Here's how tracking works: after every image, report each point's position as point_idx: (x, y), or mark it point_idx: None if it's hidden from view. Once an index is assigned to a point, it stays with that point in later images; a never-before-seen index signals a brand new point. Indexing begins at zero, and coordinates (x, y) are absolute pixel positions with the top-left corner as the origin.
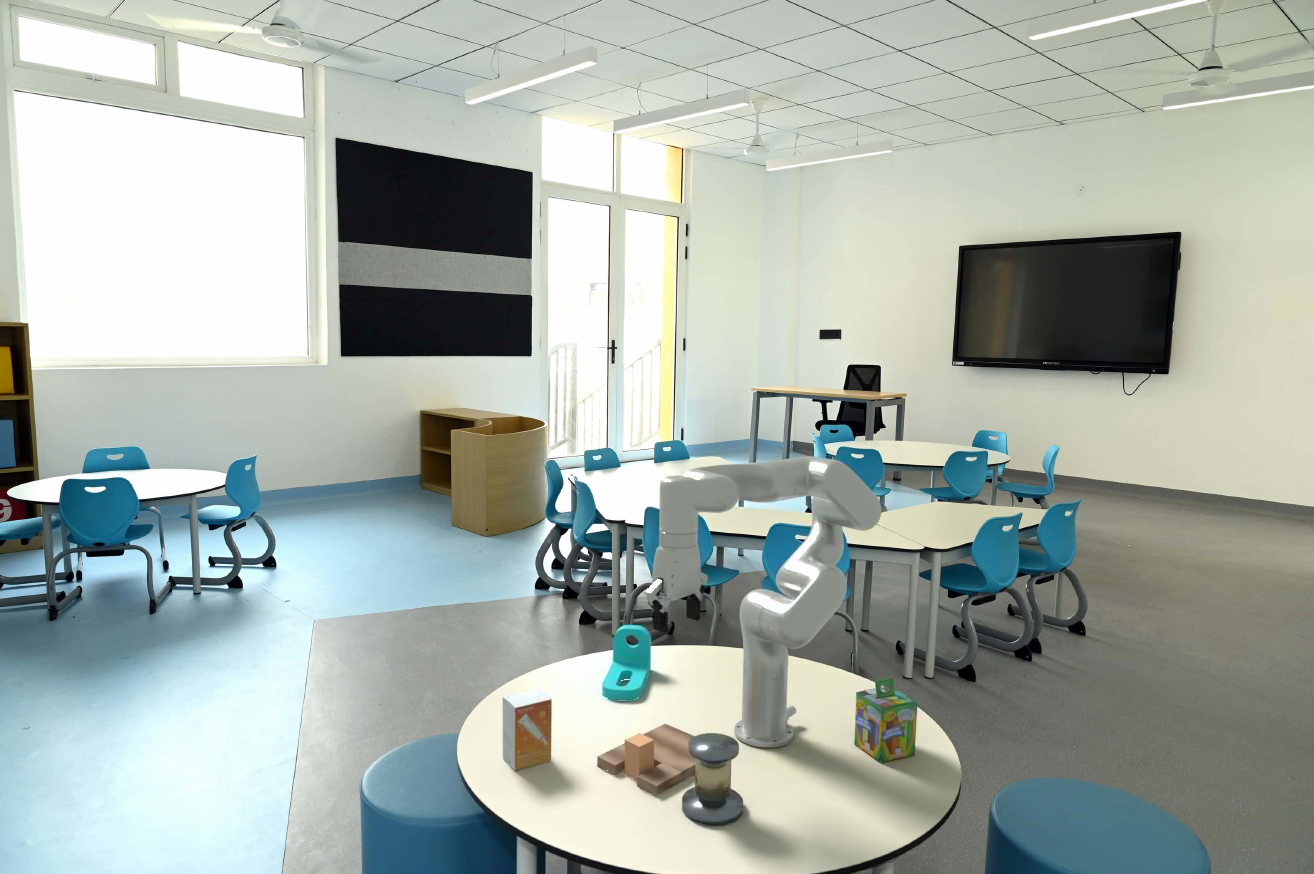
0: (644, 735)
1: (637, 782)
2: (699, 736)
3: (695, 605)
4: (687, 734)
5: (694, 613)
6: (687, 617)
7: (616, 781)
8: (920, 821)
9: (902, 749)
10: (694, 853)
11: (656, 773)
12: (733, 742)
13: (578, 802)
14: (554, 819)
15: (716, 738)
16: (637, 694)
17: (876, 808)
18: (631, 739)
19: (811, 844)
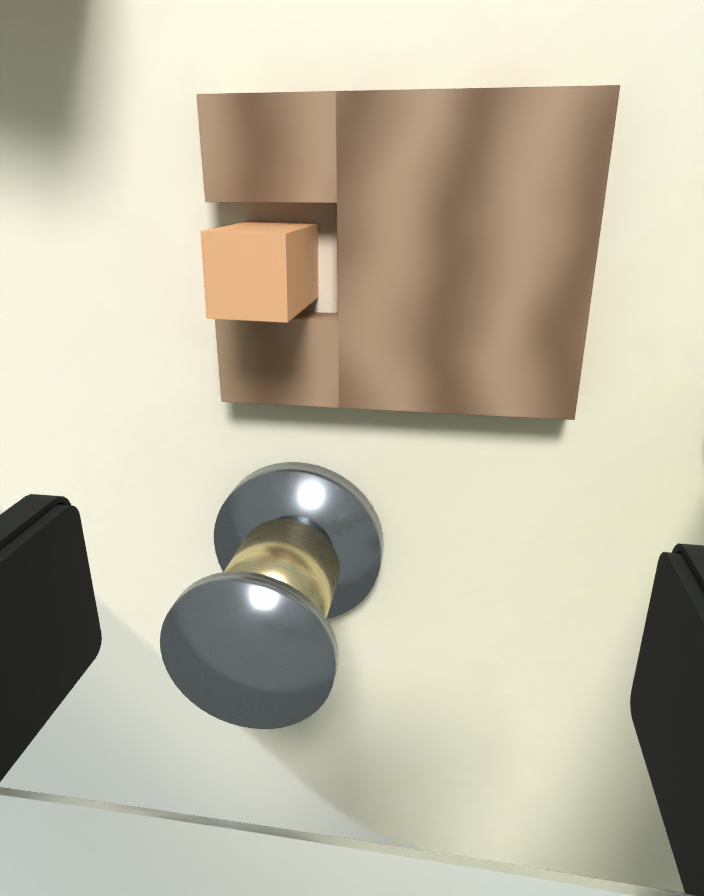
0: (285, 266)
1: None
2: (254, 595)
3: (693, 861)
4: (587, 242)
5: (655, 732)
6: (658, 565)
7: (196, 236)
8: None
9: None
10: (137, 598)
11: (273, 352)
12: (308, 698)
13: (37, 238)
14: None
15: (288, 644)
16: None
17: (579, 810)
18: (222, 250)
19: (346, 753)
